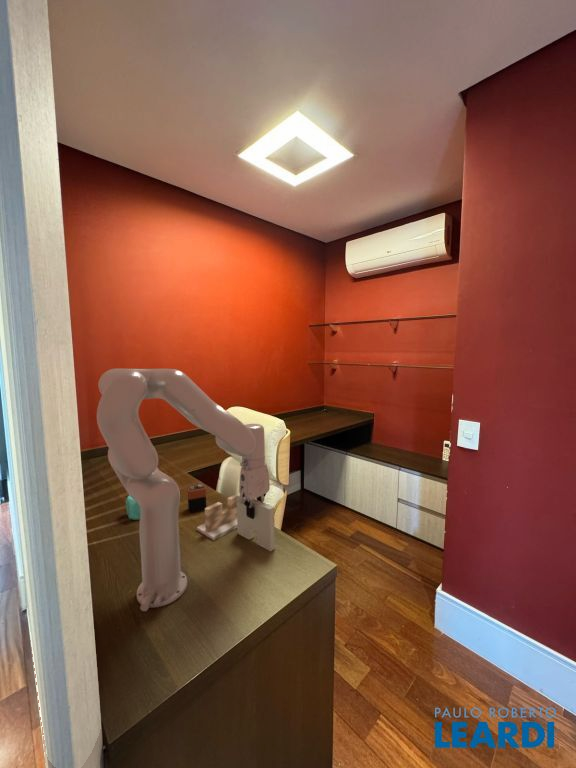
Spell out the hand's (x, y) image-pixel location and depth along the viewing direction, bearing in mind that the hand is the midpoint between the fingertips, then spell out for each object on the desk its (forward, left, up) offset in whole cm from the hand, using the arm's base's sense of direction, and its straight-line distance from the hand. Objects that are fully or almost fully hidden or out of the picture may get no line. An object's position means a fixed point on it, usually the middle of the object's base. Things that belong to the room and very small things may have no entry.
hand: (254, 514), depth 104 cm
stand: (+11, +11, -9) cm, 18 cm away
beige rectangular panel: (0, 0, -9) cm, 9 cm away
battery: (+24, +24, -10) cm, 36 cm away
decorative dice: (+22, +46, -10) cm, 52 cm away
